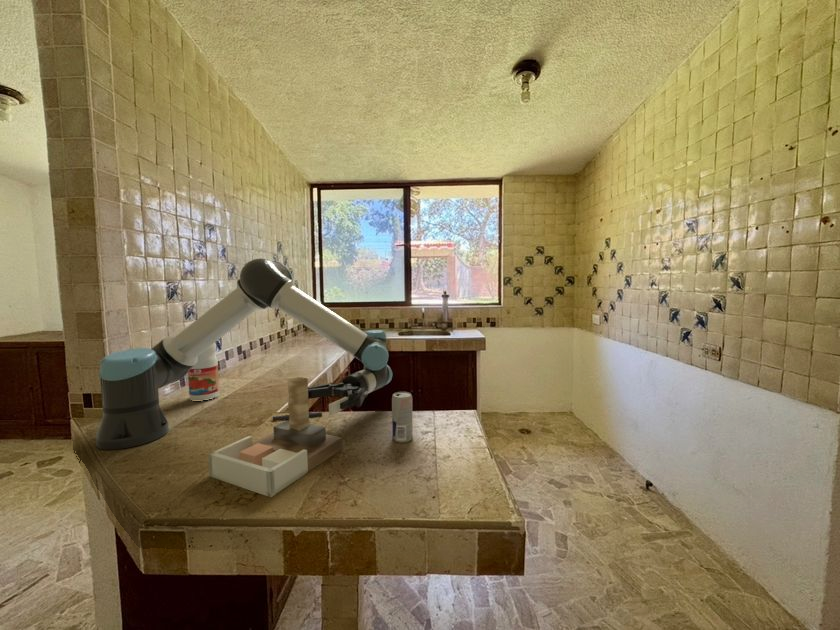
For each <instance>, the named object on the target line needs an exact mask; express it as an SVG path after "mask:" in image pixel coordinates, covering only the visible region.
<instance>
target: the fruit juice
mask: <svg viewBox="0 0 840 630" xmlns="http://www.w3.org/2000/svg"><path fill="white" fill-rule="evenodd" d="M216 351H217V343H216V342H215V343H214V344H212V345H211V346H210V347H209V348H207V349H206V350H205V351H204V352H202V353H201V354H200V355H199V356H198V361H197V363H196V364H195V365H194V366H193V367H192V368H191V369H190V370H189V372H188V373H187V379H188V381H187V382H188V397H189V401H191V400H204V399H210V398H213V397H216V396H218V395H219V396H220V385H219V384H220V383H219V382H220V381H219V363H218V357H217V355H216ZM219 396H218V397H219Z"/></svg>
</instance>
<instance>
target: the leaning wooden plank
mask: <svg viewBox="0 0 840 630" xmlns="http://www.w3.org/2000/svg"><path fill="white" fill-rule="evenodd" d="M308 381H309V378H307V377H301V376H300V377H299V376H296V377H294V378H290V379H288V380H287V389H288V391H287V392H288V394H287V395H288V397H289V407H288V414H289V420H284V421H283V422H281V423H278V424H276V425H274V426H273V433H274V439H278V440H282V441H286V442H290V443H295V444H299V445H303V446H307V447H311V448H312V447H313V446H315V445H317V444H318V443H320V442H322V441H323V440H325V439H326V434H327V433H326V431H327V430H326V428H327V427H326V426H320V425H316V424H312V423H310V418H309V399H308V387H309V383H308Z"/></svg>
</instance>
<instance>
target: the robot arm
mask: <svg viewBox="0 0 840 630" xmlns="http://www.w3.org/2000/svg"><path fill="white" fill-rule="evenodd" d="M267 308H270V309H271V310H273V309H279V310H280V311H282V312H284V313H285V314H287V315H288V316H290V317H291V318H293V319H294V320H296V321H298V322H299V323H301V324H302V325H304V326H305V327H307V328H309V329H310V330H311V331H313V332H315V333H317V334H318V335H319V336H321V337H323V338H324V339H326V340H328V341H329V342H331V343H332V344H333V345H335V346H337V347H338V348H340V349H341V350H343V351H345V352H347V353H348V354H350V355H351V356H353V357H354V358H355V359H357V360H359V361H360V362H361V364H362V365H363V369H361V370H359V371H356V372H354V373H352V374H348V375H346V376H345V377H343V379H342V381H341V382H338V383H336V384H333V382H327V383H324V384H320V385H319V384H318V385H313V386H308V400H310V399H317V398H318V399H319V398H326V397H329V398H340V399H337V400H336V401H332V402H330V403H328V416H333V415H336V414H337V413H339V412H342V411H344V410H345V409H347V408H353V407H354V406H355V407H356V408H360V407H361V406H362V404H363V403H364V400H365V398H367V397H368V394H370V393H372V392H374V391H377V390H379V389H381V388H384V387H385V386H386V385H388V384H389V383H390V382H391V381H392V378H393V371H392V368H391V367H390V366H389V365H388V361H389V357H390V355H389V350H388V347H387V341H388V340H387V333H386V331H385V330H383V329H382V330H381V329H371V330H365V331H363V330H361V329H360V328H359V327H357V326H355V325H354V324H352V323H350V322H349V321H348V320H347V319H345V318H343V317H342V316H340V315H338V314H337V313H336V312H334V311H332V310H331V309H330V308H328V307H326V306H325V305H324V304H323V303H320V302H319V301H317V300H316V299H315V298H313V297H312V296H309V294H306V293H305V292H304V291H302V290H301V289H299V288H297V287H296V286H295V285H294V278H293V274H292V272H291V270H289V269H288V267H287V266H286V265H285V264H283V263H281V262H280V261H275V260H271V259H268V258H267V259H266V258H254V259H251V260H250V261H248V262H247V263H245V264H244V265H243V267H242V269H241V270H240V274H239V279H237V280H236V288H235V289H234V290H233V291H231V292H230V293H228V295H226V296H225V297H224V298H222V299H221V300H220V301H218V302H216V304H215V305H213V306H212V307H210V308H209V310H207V311H205V312H204V313H203V314H202V315H201V316H199V317H198V318H196V320H194V321H193V322H191V323H190V324H189V325H188V326H186V328H184V329H183V330H182V331H180V332H179V333H178V334H177V335H175V336H172V335H171V336H170V335H169V336H165V337H164V338H163V339H161V340H160V341H159V342H158V343H156V344H155V345H154V346H153V347H151V348H147V347H145V348H144V347H138V348H130V349H125V350H120V351H116V352H112V353H110V354H107V355H105V356H104V357H102V359H100V362H99V372H98V375H99V378H100V379H99V380H100V389H101V390H100V392H101V403H102V405H101V406H102V418H101V421H100V423H99V426H98V430H97V433H96V435H95V446H96V448H97V447H98V449H100V450H105V451H106V450H111V451H112V450H121V449H123V450H124V449H129V448H133V447H137V446H141V445H144V444H147V443H152V442H154V441H156V440H158V439H161V438H162V437H164V436H165V435H167V434H168V433H169V421H168V419H167V418H166V416H165V414H164V412H163V410H162V407H161V405H160V400H159V399H160V397H159V389H161V388H164V387H166V386H168V385H170V384H173V383H175V382H178V381H180V380H181V379H183V378H184V377H186V376H187V375H188V372H189V370H190V369H191V368H192V367H193V366H194V365H195V364H196V363H197V361H198V356H199V355H200V354H201V353H202V352H204V351H205V350H206V349H207V348H209V347H210V346H211V345H212V344H214V343H216V342H217V341H219V340H220V339H221V338H223V337H224V336H225V335H226V334H227V333H229V332H230V331H232V330H233V328H235V327H236V326H237V325H239V324H240V323H242V322H243V321H244V320H245V319H246V318H248V317H249V316H250V315H251V314H253V313H254V312H256V310H265V309H267ZM287 408H289V396H287Z"/></svg>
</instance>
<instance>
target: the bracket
mask: <svg viewBox="0 0 840 630" xmlns="http://www.w3.org/2000/svg"><path fill="white" fill-rule="evenodd" d="M320 417H323V412H320V411H319V412H311V411H310V412H309V419H311V418H320ZM284 419H289V415H287V414H284V415H281V416H280V415H279V416H272V422H277V421H276V420H282V421H285V420H284Z"/></svg>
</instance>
